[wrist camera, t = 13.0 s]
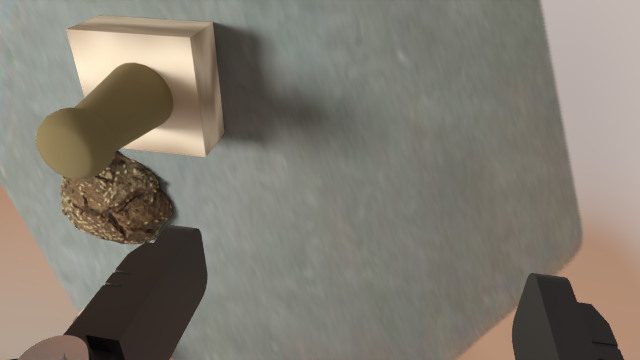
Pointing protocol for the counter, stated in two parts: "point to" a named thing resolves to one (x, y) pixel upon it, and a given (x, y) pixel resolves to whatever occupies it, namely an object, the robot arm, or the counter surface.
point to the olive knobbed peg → (104, 121)
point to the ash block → (170, 63)
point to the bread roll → (117, 203)
